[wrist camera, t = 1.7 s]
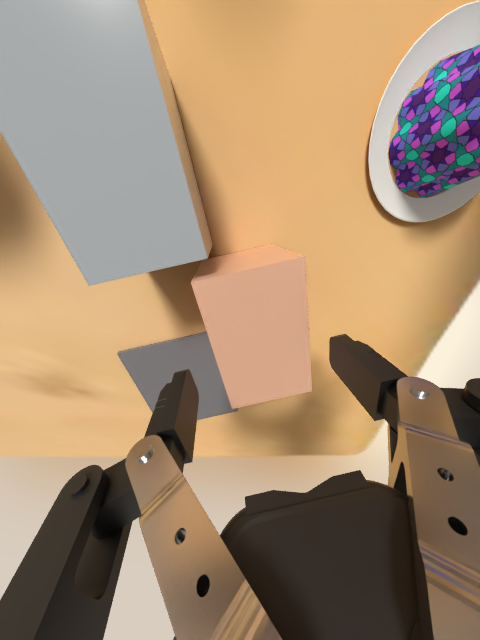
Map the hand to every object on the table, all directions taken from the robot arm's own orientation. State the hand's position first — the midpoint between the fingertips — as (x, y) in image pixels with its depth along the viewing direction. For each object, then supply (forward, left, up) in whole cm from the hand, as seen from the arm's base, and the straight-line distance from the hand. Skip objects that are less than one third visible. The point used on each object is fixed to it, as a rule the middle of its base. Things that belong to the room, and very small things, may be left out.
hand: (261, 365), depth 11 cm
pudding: (-17, -10, -10) cm, 22 cm away
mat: (+9, +8, -9) cm, 15 cm away
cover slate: (+5, -11, -9) cm, 15 cm away
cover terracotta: (0, 0, -9) cm, 9 cm away
